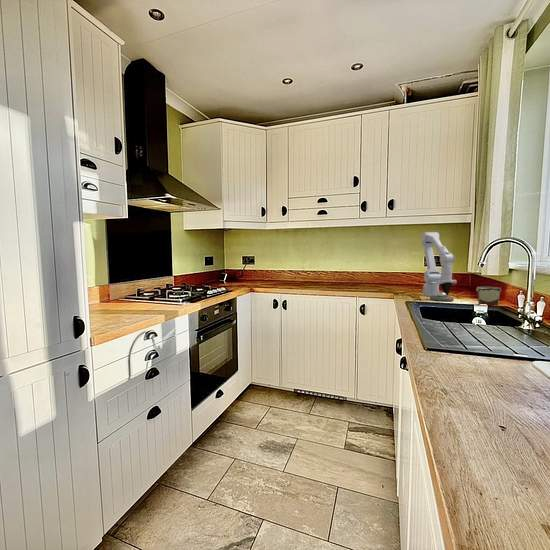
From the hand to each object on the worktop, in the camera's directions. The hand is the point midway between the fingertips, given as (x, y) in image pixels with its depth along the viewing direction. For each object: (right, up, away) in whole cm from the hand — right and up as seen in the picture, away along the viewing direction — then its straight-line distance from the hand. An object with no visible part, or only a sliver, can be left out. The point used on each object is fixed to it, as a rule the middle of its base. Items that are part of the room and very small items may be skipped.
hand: (446, 294), depth 189 cm
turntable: (-4, -3, -1) cm, 5 cm away
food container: (+11, -5, -20) cm, 23 cm away
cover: (-4, -1, -1) cm, 4 cm away
